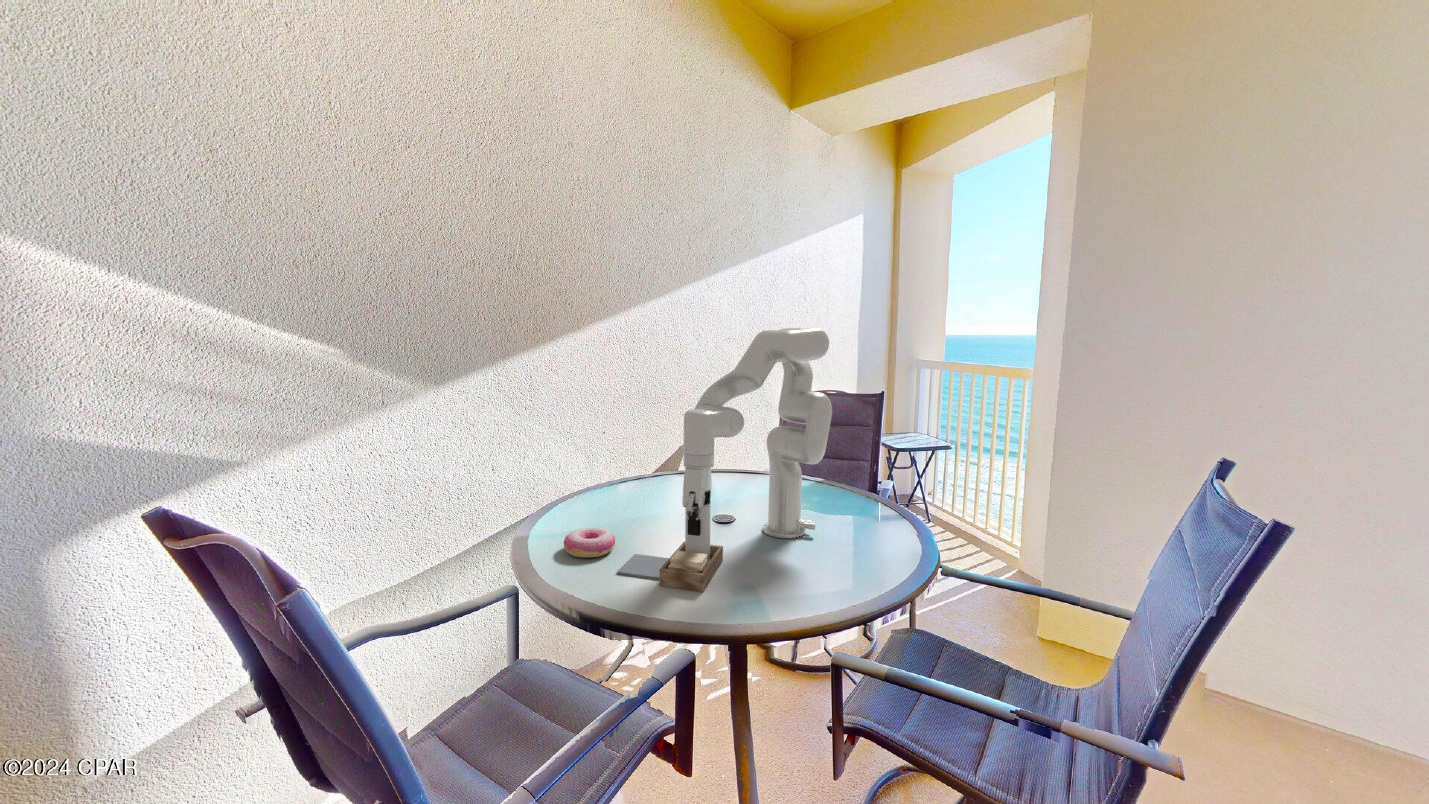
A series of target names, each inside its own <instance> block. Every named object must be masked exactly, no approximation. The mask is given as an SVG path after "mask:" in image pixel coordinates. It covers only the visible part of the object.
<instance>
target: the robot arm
mask: <svg viewBox="0 0 1429 804" xmlns="http://www.w3.org/2000/svg"><path fill="white" fill-rule="evenodd" d="M829 339H830V338H829V336H828V334H827V333H826V331H824V330H823V329H821V328H815V327H813V328H812V327H811V328H807V327H806V328H804V327H803V328H801V327H797V328H796V327H788V328H786V327H785V328H781V329H775V330H774V329H769V330H763V331H760V332H758V333H757V334H756V335H755V336H754V338H753V339H752V341H751V343H750V344H749V346H748V348H747V349H746V351H745V353H744V354H743V356H742V357H741V359H740V360H739V362H738V363H737V365H736V366H735V368H734V369H733V370H732V371H730V372H728V373H727V374H724V376H722V377H721V378H719V379H718V380H716V381H715V382H714V383H712V384H711V385H710V386H709V387H708V388H707V389H706V390H705V391H704V392H703V394H702V395H701V397H700V398H699V399H698V402H697V403H696V405H695V407H694V408H693V409H689V410H686V411H685V413H684V414H683V467H684V474H683V485H682V504H681V505H682V507H683V508H685V507H687V509H686V511H687V519H688V530H687V533H688V535H695V536H700V534H701V519H699V517H700V509H701V508H702V507H703V506H704V502H705V497H706V495H705V492H709V490H710V499H711V497H712V487H713V486H712V480H713V479H712V468H713V467H714V466H715V439H716V438H733V437H735V436H737V435H739V434H740V433H741V431H742V430H743V429H744V426H745V418H744V415H743V414H742V412H740V411H739V410H738V409H736V408H733V407H728V406H724V405H725V404H726V403H728V402H729V401H731V400H733V399H735V398H736V397H740V396H743V395H747V394H749V393H752V392H754V391H758V390H759V389H761V387H762V386H763V385H764V383H765V381H766V379H768V376H769V375H770V373H771V371H772V369H773V368H774V366H775V365H776V364H777V363H781V365H782V367H783V368H782V369H783V378H782V379H783V380H782V385H781V391H780V395H779V402H778V409H777V410H778V415H779V417H780V419H782V420H783V421H786V422H790V423H795V424H801V425H805V428H800V427H795V426H789V425H779V426H778V425H777V426H775V427H773V428H772V429H771V430H770V431H769V433H768V434H767V437H766V449H767V455H768V463H769V475H768V476H769V480H768V481H769V482H768V483H769V484H768V510H767V512H768V515H767V518H768V519H767V522H765V523H764V524H763V525H762V531H763V532H764V534H766V535H767V536H770V537H774V538H777V539H795V538H796V537H797V538H800V537H802V536H804V535H805V534H804V533H806V530H811V531H812V530H813V531H815V530H816V523H815V522H813V521H812V520H805V519H804V518H803V514H801V512H802V508H801V507H802V483H803V475H802V473H803V472H802V468H801V465H800V463H801V464H807V465H817V464H818V463H819V462H821V461H822V459H823V458H824V456H825V453H826V449H827V444H828V440H829V439H828V438H829V434H830V433H829V432H830V427H831V422H832V416H833V405H832V402H831V400H830V398H829V396H828V395H826V394H825V393H822V392H818V391H812V387H813V379H814V374H813V370H812V367H811V364H810V363H809V361H815V360H820V359H822V358H823V357H824V356H825V355H826V354H827V353H828V350H829V347H830V340H829ZM694 504H698V506H697V507H694ZM693 509H695V510H697V514H696V512H695V511H694V510H693ZM799 536H800V537H799ZM797 538H796V539H797Z"/></svg>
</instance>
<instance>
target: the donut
mask: <svg viewBox="0 0 1429 804" xmlns="http://www.w3.org/2000/svg"><path fill="white" fill-rule="evenodd" d="M615 545H616V537H615V535H614V533H613V532H611V531H610V530H608V529H607V528H601V527H584V528H580V529H577V530H573V531H571V532H569V533H568V534H567V535H566V536H565V537H564V540H563V548H564V550H565V551H566V553H567V554H569V555H571V557H576V558H579V559H581V558H582V559H583V558H584V559H585V558H586V559H588V558H590V559H591V558H598V557H603V556H605V555H607V554H609V553H610V552H611V551H612V550H613V549H614V548H615Z"/></svg>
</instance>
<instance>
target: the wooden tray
mask: <svg viewBox="0 0 1429 804" xmlns="http://www.w3.org/2000/svg"><path fill="white" fill-rule="evenodd" d="M677 551H684V552H685V540H684V541H683V542H682V543H681V544H680V546H678V548H677V549H676V550H675V551H674V552H673V553H672V554H671V556H670V557H669V559H668V561H667V562H666V563H665V564H664V565H663V566H662V567H661V569H660V580H659V587H664V588H671V589H677V590H678V589H679V590H687V591H691V592H692V591H693V592H699V593H700V592H701V593H704V592H705V591H706V589H707V587H708V586H709V584H710V582H711V581H712V580H713V577H714V576H715V574H716V573H717V571H718V569H719V568H720V566H721V564H722V563H723V562H724V546H723V545H719V544H718V545H717V544H710V561H709V563H708V564H707V566H706V567H705V569H704V570H703V572H702V573H693V572H686V571H678V570H671V569H668V566H669V565H670V559H671V558H672V556H673V555H674V554H675V553H676V552H677Z"/></svg>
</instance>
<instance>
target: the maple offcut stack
mask: <svg viewBox="0 0 1429 804" xmlns="http://www.w3.org/2000/svg"><path fill="white" fill-rule="evenodd" d="M673 554H674V553H673ZM673 554H672V555H673ZM672 555H671V556H672ZM707 558H708V554H701V553H693V552H684V551H677V552H676V553H675V554H674V555H673V556H672V558H671V559H670V565H669V566H668V569H671V570H678V571H686V572H693V573H702V572H703V570H704V569H705V565H706V564H707Z"/></svg>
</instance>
